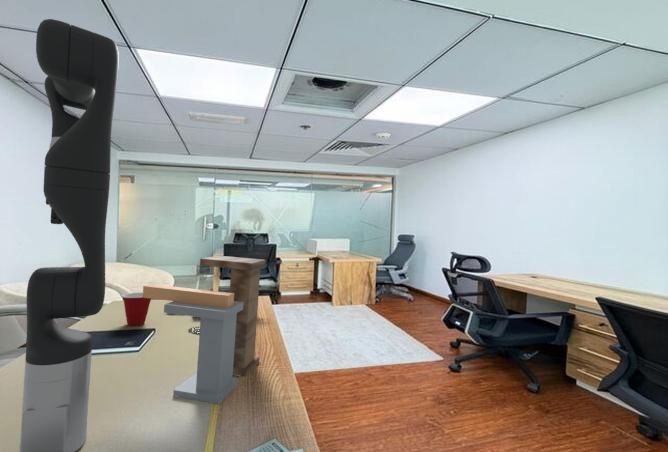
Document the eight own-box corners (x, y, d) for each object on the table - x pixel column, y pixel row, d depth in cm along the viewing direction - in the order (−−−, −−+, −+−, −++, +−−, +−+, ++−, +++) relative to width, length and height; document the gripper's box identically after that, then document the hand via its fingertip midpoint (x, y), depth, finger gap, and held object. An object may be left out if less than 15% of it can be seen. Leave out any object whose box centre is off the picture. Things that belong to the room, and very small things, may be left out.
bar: (233, 304, 81) (234, 293, 81) (227, 307, 79) (228, 295, 78) (151, 295, 86) (151, 284, 86) (142, 297, 83) (143, 286, 83)
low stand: (238, 383, 85) (243, 302, 85) (218, 404, 75) (224, 311, 75) (184, 374, 88) (189, 295, 87) (158, 393, 78) (164, 304, 78)
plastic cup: (151, 318, 132) (152, 289, 132) (152, 326, 123) (154, 295, 123) (119, 321, 126) (121, 291, 126) (119, 329, 117) (121, 297, 117)
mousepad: (214, 328, 127) (214, 326, 127) (212, 335, 119) (212, 333, 119) (189, 328, 124) (189, 327, 124) (185, 335, 117) (185, 333, 117)
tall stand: (259, 361, 99) (265, 259, 99) (244, 376, 89) (252, 263, 89) (211, 354, 101) (218, 255, 101) (193, 368, 91) (200, 258, 91)
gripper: (75, 155, 73) (71, 225, 73) (97, 165, 87) (93, 224, 87) (34, 151, 71) (30, 223, 71) (63, 161, 84) (59, 222, 84)
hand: (65, 223), depth 79 cm, fingers open, 8 cm apart
